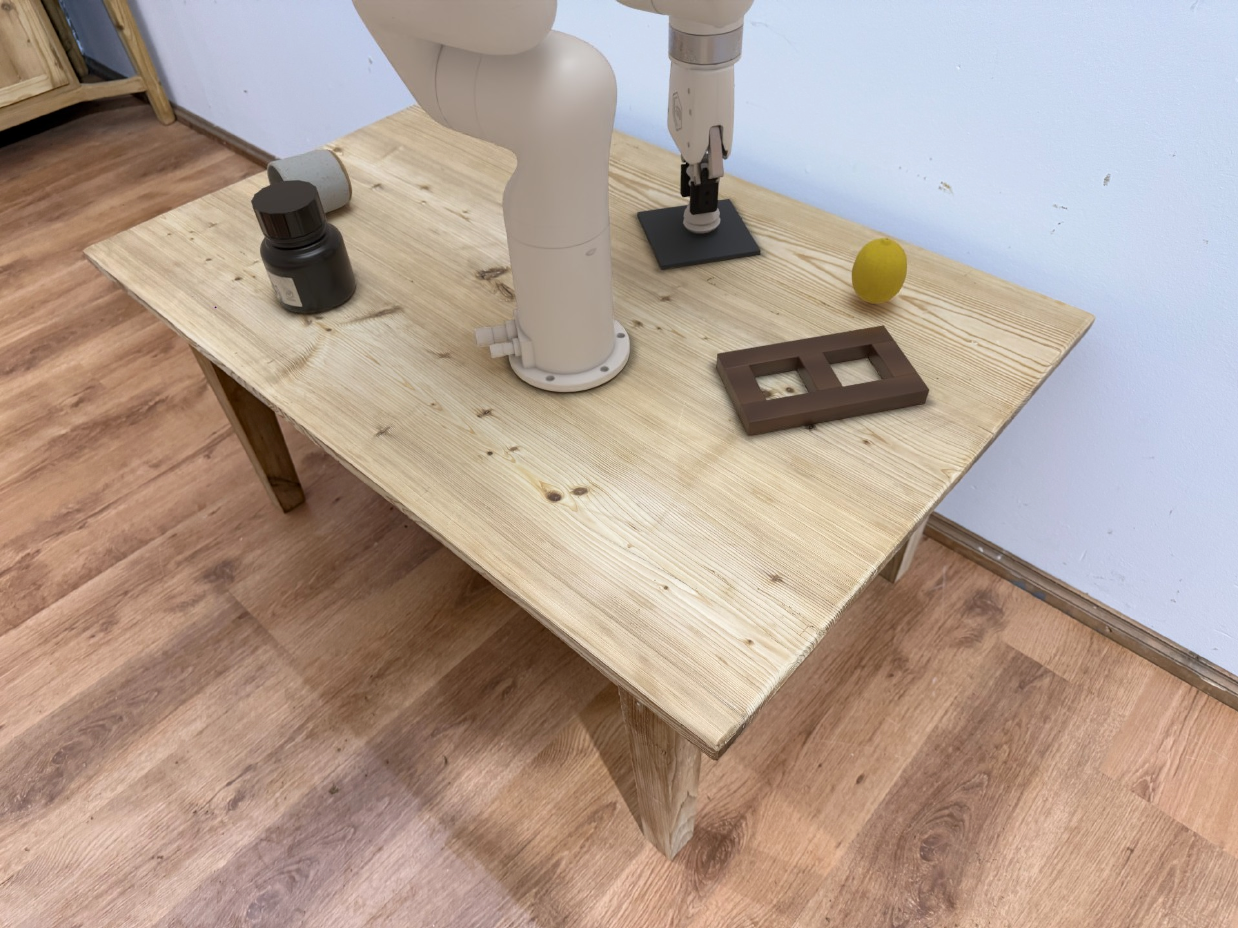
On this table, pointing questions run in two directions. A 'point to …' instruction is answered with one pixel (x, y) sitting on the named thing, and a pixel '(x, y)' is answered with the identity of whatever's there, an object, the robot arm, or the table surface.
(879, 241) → the lemon
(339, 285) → the ink bottle
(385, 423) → the table surface
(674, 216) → the mat
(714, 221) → the rook chess piece
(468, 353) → the table surface
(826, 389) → the frame
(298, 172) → the ceramic mug
